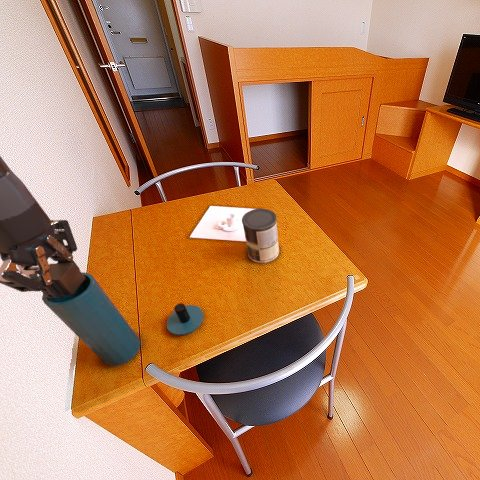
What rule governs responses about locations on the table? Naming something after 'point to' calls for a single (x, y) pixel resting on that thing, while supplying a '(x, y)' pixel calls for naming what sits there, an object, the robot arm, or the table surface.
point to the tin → (96, 322)
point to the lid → (184, 319)
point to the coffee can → (261, 235)
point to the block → (66, 276)
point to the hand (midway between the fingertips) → (67, 285)
